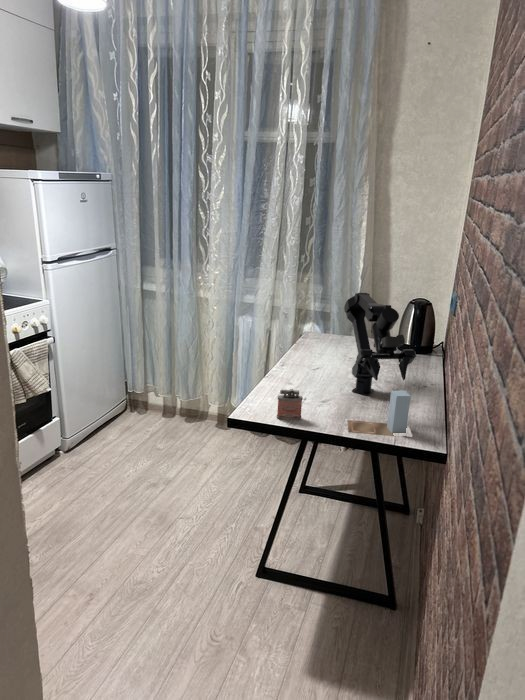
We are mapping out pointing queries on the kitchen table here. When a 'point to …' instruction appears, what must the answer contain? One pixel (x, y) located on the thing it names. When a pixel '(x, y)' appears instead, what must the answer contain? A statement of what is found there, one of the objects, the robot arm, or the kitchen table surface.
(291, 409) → the lighter
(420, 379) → the kitchen table surface
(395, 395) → the tall block
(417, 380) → the kitchen table surface
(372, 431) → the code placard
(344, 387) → the kitchen table surface
